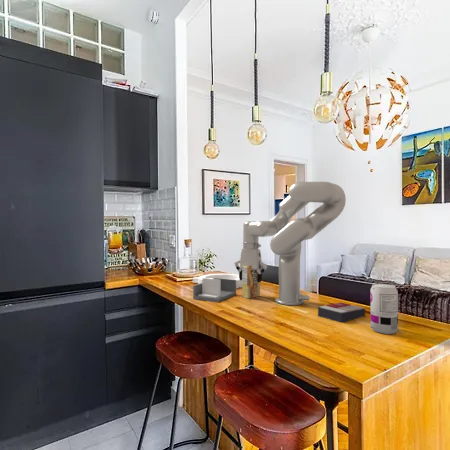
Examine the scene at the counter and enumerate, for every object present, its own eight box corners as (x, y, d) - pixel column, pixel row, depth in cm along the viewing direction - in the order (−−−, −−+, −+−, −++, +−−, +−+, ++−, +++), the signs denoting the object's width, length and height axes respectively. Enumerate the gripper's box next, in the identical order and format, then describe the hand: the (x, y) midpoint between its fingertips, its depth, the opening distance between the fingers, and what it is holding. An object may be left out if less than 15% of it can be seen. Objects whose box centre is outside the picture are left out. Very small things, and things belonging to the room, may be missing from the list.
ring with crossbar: (190, 283, 197) (190, 275, 197) (230, 279, 210) (230, 272, 210) (210, 292, 172) (210, 283, 172) (254, 286, 185) (254, 278, 185)
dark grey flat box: (365, 307, 125) (342, 311, 116) (365, 318, 125) (342, 323, 116) (340, 301, 134) (317, 305, 125) (340, 312, 134) (317, 316, 125)
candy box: (254, 294, 163) (254, 264, 163) (260, 296, 160) (260, 265, 159) (241, 297, 157) (241, 266, 157) (247, 298, 154) (247, 267, 154)
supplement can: (366, 330, 107) (366, 285, 107) (376, 325, 113) (375, 282, 113) (392, 336, 101) (392, 289, 101) (401, 330, 107) (401, 285, 107)
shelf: (236, 294, 164) (236, 275, 164) (218, 302, 148) (218, 281, 148) (212, 291, 170) (212, 274, 170) (193, 298, 155) (193, 279, 155)
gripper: (270, 246, 157) (269, 281, 158) (238, 245, 166) (238, 278, 166) (264, 247, 151) (263, 284, 151) (231, 245, 159) (231, 280, 160)
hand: (250, 280), depth 159 cm, fingers open, 9 cm apart
